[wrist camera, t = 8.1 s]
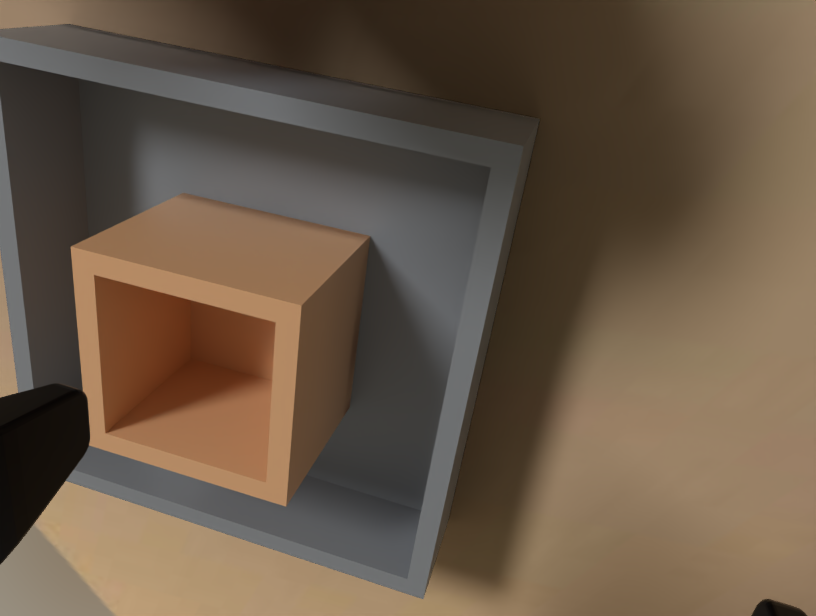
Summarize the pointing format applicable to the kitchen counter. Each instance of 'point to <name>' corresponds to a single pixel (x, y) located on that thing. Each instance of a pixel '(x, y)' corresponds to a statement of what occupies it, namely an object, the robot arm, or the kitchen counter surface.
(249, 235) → the small crate
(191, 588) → the kitchen counter surface
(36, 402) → the robot arm
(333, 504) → the grey square tray
